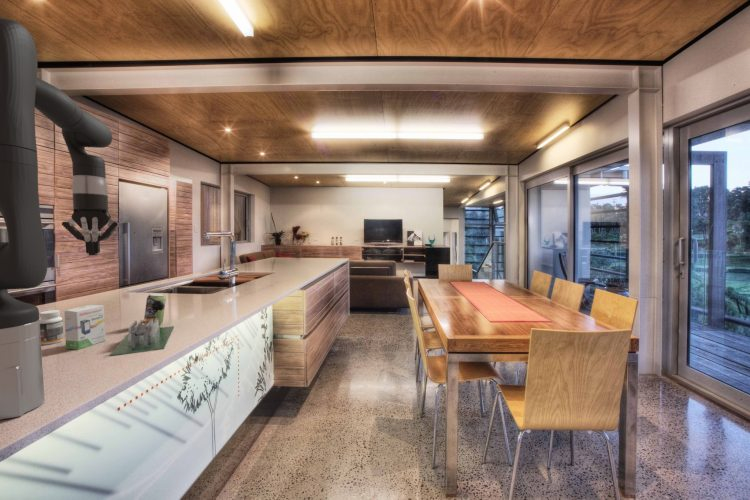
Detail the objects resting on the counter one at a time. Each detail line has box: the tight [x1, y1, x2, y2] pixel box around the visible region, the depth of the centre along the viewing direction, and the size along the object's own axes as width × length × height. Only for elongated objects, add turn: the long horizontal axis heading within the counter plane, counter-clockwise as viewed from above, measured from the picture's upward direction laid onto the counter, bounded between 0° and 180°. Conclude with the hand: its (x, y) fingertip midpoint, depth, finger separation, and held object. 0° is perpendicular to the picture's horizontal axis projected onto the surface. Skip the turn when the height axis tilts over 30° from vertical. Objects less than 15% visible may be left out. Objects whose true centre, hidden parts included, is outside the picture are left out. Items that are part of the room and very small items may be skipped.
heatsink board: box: [110, 313, 175, 357], centre depth 109 cm, size 25×13×6 cm, turn 25°
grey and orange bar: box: [135, 318, 157, 336], centre depth 109 cm, size 19×4×1 cm, turn 25°
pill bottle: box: [39, 309, 64, 346], centre depth 107 cm, size 6×6×10 cm
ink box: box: [63, 304, 107, 351], centre depth 105 cm, size 9×5×12 cm, turn 168°
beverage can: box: [143, 292, 167, 326], centre depth 126 cm, size 6×7×12 cm
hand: (93, 255), depth 95 cm, fingers closed
